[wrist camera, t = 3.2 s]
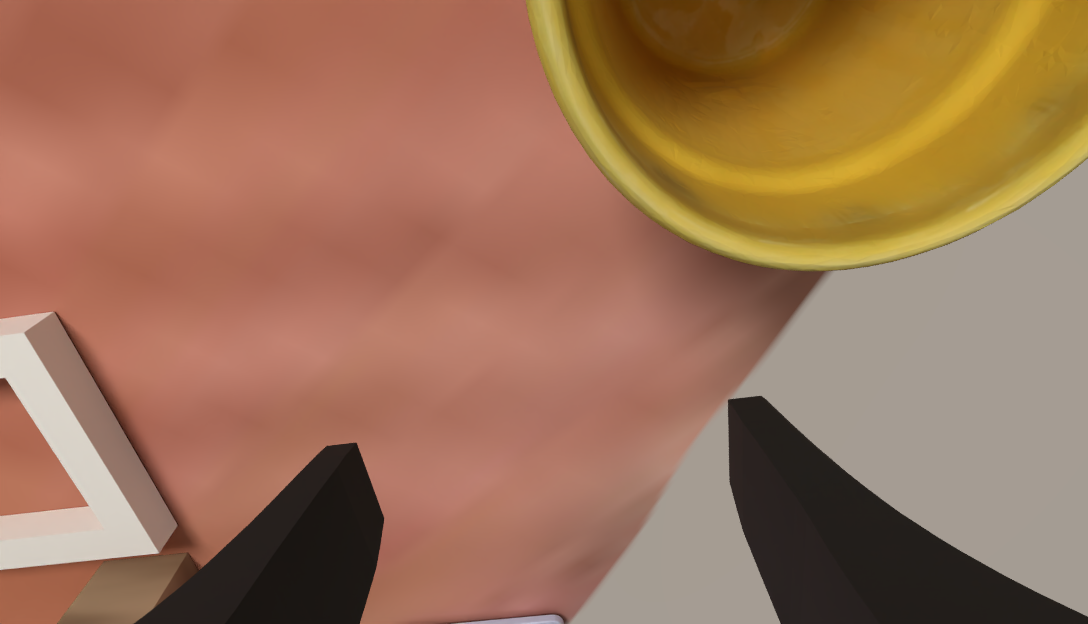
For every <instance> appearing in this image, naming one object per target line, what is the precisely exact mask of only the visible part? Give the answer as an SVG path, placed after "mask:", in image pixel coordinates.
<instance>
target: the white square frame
mask: <svg viewBox="0 0 1088 624" xmlns="http://www.w3.org/2000/svg"><path fill="white" fill-rule="evenodd" d="M0 378H6V380H7V381H8V383H9V384H10V386H11V387H12V389H13V390H14V392H15V393H16V395H17V396H18V398H19V399H20V401H21V402H22V404H23V405H24V407H25V409H26V410H27V412H28V413H29V415H30V416H31V418H32V419H33V421H34V422H35V424H36V425H37V427H38V428H39V430H40V431H41V433H42V434H43V436H44V438H45V439H46V441H47V442H48V444H49V445H50V447H51V448H52V450H53V451H54V453H55V454H56V456H57V457H58V459H59V460H60V462H61V464H62V465H63V467H64V468H65V470H66V471H67V473H68V474H69V476H70V477H71V479H72V480H73V482H74V483H75V485H76V486H77V488H78V489H79V491H80V493H81V494H82V496H83V497H84V499H85V500H86V502H87V503H88V505H89V506H87V507H78V508H69V509H60V510H51V511H42V512H33V513H24V514H15V515H6V516H0V570H3V569H13V568H22V567H32V566H42V565H51V564H61V563H70V562H80V561H90V560H99V559H109V558H118V557H128V556H137V555H147V554H157V553H160V551H161V550H162V548H163V547H164V545H165V544H166V542H167V541H168V539H169V538H170V536H171V535H172V533H173V532H174V530H175V529H176V527H177V526H178V525H177V523H176V521H175V520H174V518H173V516H172V515H171V513H170V511H169V509H168V508H167V506H166V504H165V502H164V501H163V499H162V497H161V496H160V494H159V492H158V490H157V489H156V487H155V485H154V483H153V482H152V480H151V478H150V476H149V475H148V473H147V471H146V470H145V468H144V466H143V464H142V463H141V461H140V459H139V457H138V456H137V454H136V452H135V451H134V449H133V447H132V445H131V444H130V442H129V440H128V438H127V437H126V435H125V433H124V432H123V430H122V428H121V426H120V425H119V423H118V421H117V419H116V418H115V416H114V414H113V412H112V411H111V409H110V407H109V406H108V404H107V402H106V400H105V399H104V397H103V395H102V393H101V392H100V390H99V388H98V387H97V385H96V383H95V381H94V380H93V378H92V376H91V374H90V373H89V371H88V369H87V368H86V366H85V364H84V362H83V361H82V359H81V357H80V355H79V354H78V352H77V350H76V349H75V347H74V345H73V343H72V342H71V340H70V338H69V336H68V335H67V333H66V331H65V329H64V328H63V326H62V324H61V323H60V321H59V319H58V317H57V316H56V314H55V312H47V313H40V314H33V315H26V316H18V317H11V318H4V319H0Z"/></svg>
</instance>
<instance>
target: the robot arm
mask: <svg viewBox="0 0 1088 624" xmlns="http://www.w3.org/2000/svg"><path fill="white" fill-rule="evenodd" d="M728 424H729V476H730V485H731V488H732V493H733V496H734V500H735V504H736V508H737V511H738V514H739V518H740V522H741V525H742V529H743V532H744V535H745V537H746V540H747V542H748V544H749V547H750V549H751V552H752V554H753V557H754V559H755V562H756V564H757V567H758V569H759V572H760V574H761V577H762V579H763V581H764V584H765V586H766V589H767V591H768V594H769V596H770V599H771V601H772V603H773V606H774V608H775V611H776V613H777V616H778V618H779V620H780V623H781V624H1088V617H1087V616H1085V615H1083V614H1081V613H1079V612H1077V611H1074V610H1072V609H1070V608H1068V607H1066V606H1064V605H1062V604H1060V603H1058V602H1056V601H1054V600H1051V599H1049V598H1047V597H1045V596H1043V595H1041V594H1039V593H1037V592H1035V591H1033V590H1031V589H1029V588H1027V587H1025V586H1023V585H1021V584H1020V583H1017V582H1015V581H1014V580H1012V579H1010V578H1008V577H1006V576H1004V575H1002V574H1000V573H999V572H997V571H995V570H993V569H992V568H990V567H988V566H986V565H984V564H983V563H981V562H979V561H977V560H975V559H974V558H972V557H970V556H968V555H967V554H965V553H963V552H961V551H960V550H958V549H956V548H955V547H953V546H951V545H950V544H948V543H946V542H945V541H943V540H941V539H939V538H938V537H936V536H935V535H933V534H932V533H930V532H929V531H927V530H926V529H924V528H922V527H921V526H919V525H918V524H917V523H915V522H913V521H912V520H910V519H909V518H907V517H906V516H904V515H902V514H901V513H900V512H898V511H897V510H895V509H894V508H893V507H891V506H890V505H889V504H887V503H886V502H884V501H883V500H882V499H880V498H879V497H878V496H876V495H875V494H874V493H873V492H871V491H870V490H868V489H867V488H866V487H865V486H863V485H862V484H861V483H859V482H858V481H857V480H856V479H854V478H853V477H852V476H851V475H849V474H848V473H847V472H846V471H845V470H843V469H842V468H841V467H840V466H839V465H837V464H836V463H835V462H834V461H833V460H832V459H830V458H829V457H828V456H827V455H826V454H824V453H823V452H822V451H821V450H820V449H819V448H817V447H816V446H815V445H814V444H813V443H812V442H811V441H810V440H808V439H807V438H806V437H805V436H804V435H803V434H802V433H801V432H800V431H798V430H797V428H795V427H794V426H793V425H792V424H791V423H790V422H789V421H788V420H787V419H786V418H785V417H784V416H783V415H782V414H781V413H779V412H778V411H777V410H776V409H775V408H774V407H773V406H772V405H771V404H770V403H769V402H768V401H767V400H766V399H765V398H763V397H762V396H755V397H747V398H738V399H729V400H728ZM383 524H384V516H383V514H382V511H381V508H380V505H379V503H378V500H377V497H376V495H375V492H374V489H373V486H372V484H371V481H370V478H369V475H368V473H367V470H366V467H365V465H364V462H363V459H362V456H361V454H360V451H359V448H358V445H357V443H349V444H340V445H331V446H326V447H325V448H324V449H323V450H322V451H321V452H320V453H319V454H318V455H317V456H316V457H315V458H314V459H313V460H312V461H311V462H310V463H309V464H308V465H307V466H306V467H305V468H304V469H303V470H302V471H301V472H300V473H299V474H298V475H297V476H296V477H295V478H294V479H293V480H292V481H291V482H290V483H289V484H288V485H287V486H286V487H285V488H284V489H283V490H282V491H281V492H280V493H279V494H278V496H277V497H276V498H275V499H274V500H273V501H272V502H271V503H270V504H269V505H268V506H267V507H266V508H265V509H264V510H263V511H262V512H261V513H260V514H259V515H258V516H257V517H256V518H255V519H254V520H253V521H252V522H251V523H250V524H249V525H248V526H247V527H246V528H245V529H243V530H242V531H241V532H240V533H239V534H238V535H237V536H236V537H235V538H234V539H233V540H232V541H231V542H230V543H229V544H227V545H226V546H225V547H224V548H223V549H222V550H221V551H220V552H219V553H218V554H217V555H216V556H215V557H214V558H213V559H212V560H210V561H209V562H208V563H207V564H206V565H205V566H204V567H203V568H202V569H200V570H199V571H198V572H197V573H196V574H195V575H194V576H192V577H191V578H190V579H189V580H188V581H187V582H185V583H184V584H183V585H182V586H181V587H179V588H178V589H177V590H176V591H175V592H173V593H172V594H171V595H170V596H168V597H167V598H166V599H165V600H163V601H162V602H161V603H160V604H158V605H157V606H156V607H155V608H153V609H152V610H151V611H150V612H148V613H147V614H146V615H144V616H143V617H142V618H140V619H139V620H138V621H136V622H135V623H134V624H360V621H361V617H362V614H363V611H364V608H365V604H366V601H367V598H368V594H369V591H370V587H371V584H372V581H373V577H374V574H375V570H376V566H377V561H378V555H379V549H380V544H381V537H382V530H383ZM453 624H564V622H563V619H562V618H561V617H560V616H558V615H552V614H551V615H540V616H529V617H518V618H507V619H496V620H486V621H475V622H464V623H453Z"/></svg>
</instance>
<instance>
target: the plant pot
mask: <svg viewBox="0 0 1088 624" xmlns="http://www.w3.org/2000/svg"><path fill="white" fill-rule="evenodd" d="M526 5H527V11H528V17H529V21H530V25H531V29H532V33H533V37H534V40H535V44H536V48H537V52H538V55H539V58H540V61H541V63H542V66H543V69H544V72H545V75H546V77H547V80H548V82H549V85H550V87H551V90H552V92H553V94H554V97H555V99H556V101H557V103H558V105H559V107H560V109H561V111H562V113H563V115H564V116H565V118H566V120H567V122H568V124H569V126H570V128H571V130H572V131H573V133H574V135H575V136H576V138H577V139H578V141H579V142H580V144H581V145H582V147H583V148H584V150H585V151H586V153H587V154H588V156H589V157H590V159H591V160H592V161H593V162H594V163H595V165H596V166H597V167H598V168H599V170H600V171H601V172H602V173H603V175H604V176H605V177H606V178H607V180H608V181H609V182H610V183H611V184H612V185H613V186H614V187H615V188H616V189H617V190H618V191H619V192H620V193H621V194H622V195H623V196H624V197H625V198H626V199H627V200H628V201H629V202H631V203H632V204H633V205H634V206H635V207H636V208H638V209H639V210H640V211H641V212H643V213H644V214H645V215H646V216H648V217H649V218H650V219H652V220H653V221H655V222H656V223H658V224H659V225H660V226H662V227H663V228H665V229H667V230H668V231H670V232H672V233H673V234H675V235H677V236H679V237H680V238H682V239H684V240H685V241H687V242H689V243H692V244H694V245H696V246H699V247H701V248H703V249H705V250H708V251H710V252H712V253H715V254H718V255H721V256H724V257H727V258H730V259H733V260H736V261H739V262H743V263H747V264H752V265H756V266H761V267H767V268H774V269H783V270H793V271H833V270H847V269H854V268H861V267H869V266H873V265H879V264H884V263H888V262H893V261H897V260H900V259H904V258H907V257H911V256H915V255H918V254H921V253H924V252H927V251H930V250H933V249H936V248H939V247H942V246H945V245H947V244H950V243H952V242H954V241H957V240H959V239H961V238H964V237H966V236H968V235H970V234H972V233H974V232H977V231H979V230H980V229H982V228H984V227H986V226H988V225H990V224H992V223H994V222H995V221H997V220H999V219H1001V218H1003V217H1005V216H1007V215H1009V214H1010V213H1012V212H1014V211H1016V210H1018V209H1019V208H1021V207H1022V206H1024V205H1025V204H1027V203H1028V202H1030V201H1031V200H1033V199H1034V198H1036V197H1037V196H1039V195H1040V194H1042V193H1043V192H1045V191H1046V190H1048V189H1049V188H1050V187H1052V186H1053V185H1055V184H1056V183H1057V182H1059V181H1060V180H1061V179H1063V178H1064V177H1065V176H1066V175H1067V174H1069V173H1070V172H1072V171H1073V170H1074V169H1075V168H1077V167H1078V166H1079V165H1080V164H1081V163H1083V162H1084V161H1085V160H1086V159H1087V158H1088V0H526Z"/></svg>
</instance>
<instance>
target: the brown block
mask: <svg viewBox="0 0 1088 624" xmlns="http://www.w3.org/2000/svg"><path fill="white" fill-rule="evenodd" d="M197 572H198V569H197V567H196V566H195V564H194V562H193V561H192V559H191V557H190V555H189V554H188V553H179V554H169V555H159V556H150V557H140V558H131V559H121V560H111V561H104V562H103V563H102V564H101V566H100V567H99V568H98V570H97V571H96V572H95V574H94V575H93V576H92V578H91V579H90V580H89V582H88V583H87V584H86V586H85V587H84V588H83V590H82V591H81V592H80V594H79V595H78V596H77V598H76V599H75V600H74V602H73V603H72V604H71V606H70V607H69V608H68V610H67V611H66V612H65V614H64V615H63V616H62V618H61V619H60V620H59V622H58V623H57V624H134V623H135V622H136V621H138V620H139V619H140V618H142V617H143V616H144V615H146V614H147V613H148V612H150V611H151V610H152V609H153V608H155V607H156V606H157V605H158V604H160V603H161V602H162V601H163V600H165V599H166V598H167V597H168V596H170V595H171V594H172V593H173V592H175V591H176V590H177V589H178V588H179V587H181V586H182V585H183V584H184V583H185V582H187V581H188V580H189V579H190V578H191V577H192V576H194V575H195V574H196V573H197Z"/></svg>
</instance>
